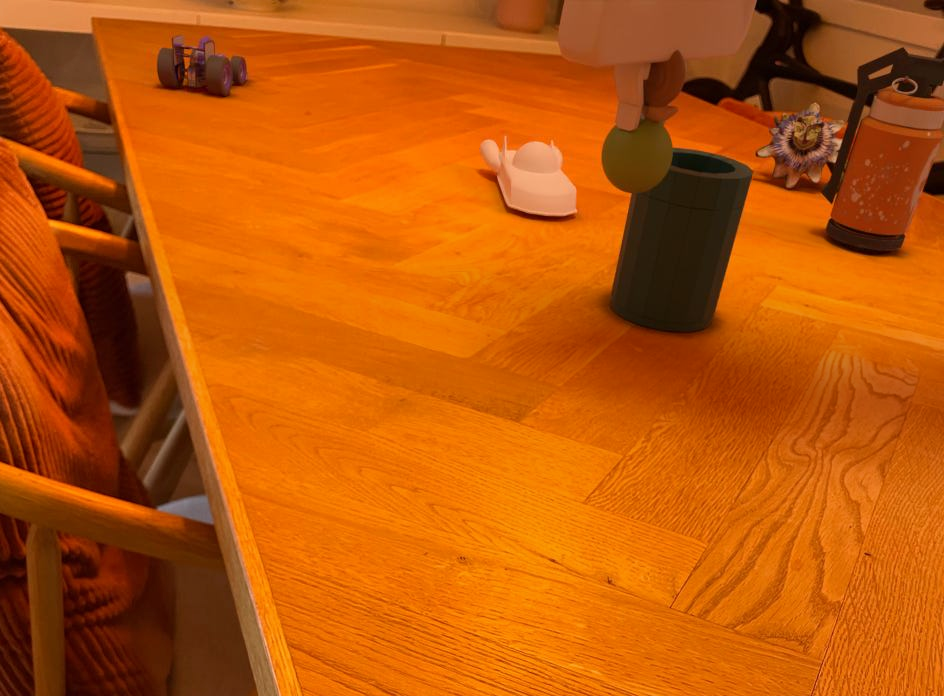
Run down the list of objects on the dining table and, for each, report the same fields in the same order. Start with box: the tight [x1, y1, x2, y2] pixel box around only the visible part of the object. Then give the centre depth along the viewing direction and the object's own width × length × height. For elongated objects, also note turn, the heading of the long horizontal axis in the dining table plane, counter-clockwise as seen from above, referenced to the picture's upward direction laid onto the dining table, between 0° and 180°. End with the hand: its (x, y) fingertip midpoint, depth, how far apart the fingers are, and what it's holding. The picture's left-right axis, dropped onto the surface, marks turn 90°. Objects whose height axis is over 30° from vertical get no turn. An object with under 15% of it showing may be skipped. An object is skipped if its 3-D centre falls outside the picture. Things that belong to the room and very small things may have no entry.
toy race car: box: [156, 34, 249, 97], centre depth 144 cm, size 10×15×6 cm, turn 170°
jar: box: [609, 147, 754, 333], centre depth 88 cm, size 10×10×13 cm
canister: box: [820, 46, 944, 254], centre depth 112 cm, size 9×11×20 cm
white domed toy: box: [479, 135, 578, 217], centre depth 117 cm, size 10×20×6 cm, turn 7°
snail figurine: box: [600, 50, 687, 194], centre depth 74 cm, size 5×6×12 cm
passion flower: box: [754, 102, 848, 192], centre depth 137 cm, size 11×11×12 cm
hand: (639, 127), depth 75 cm, fingers closed on snail figurine
